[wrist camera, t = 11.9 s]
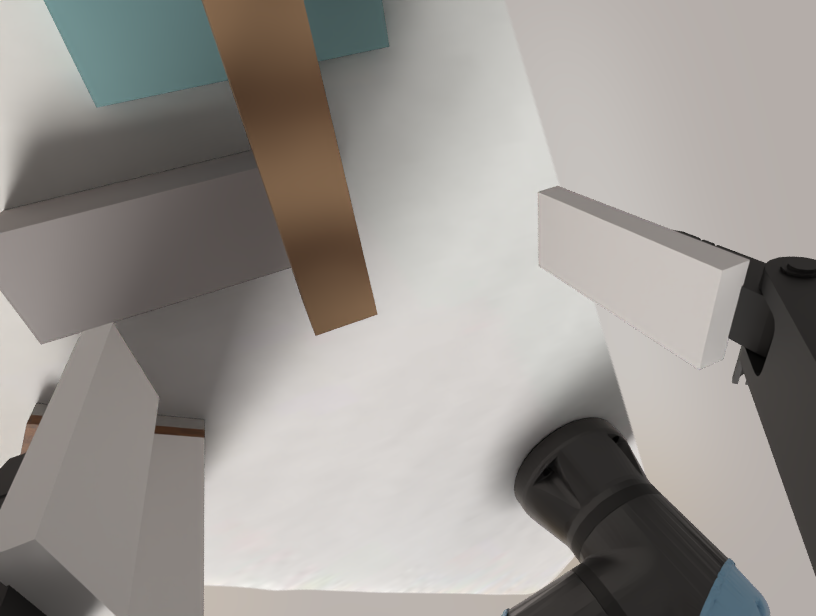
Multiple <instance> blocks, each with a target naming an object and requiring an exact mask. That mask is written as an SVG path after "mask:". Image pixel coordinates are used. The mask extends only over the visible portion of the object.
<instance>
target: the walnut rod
mask: <svg viewBox="0 0 816 616" xmlns="http://www.w3.org/2000/svg"><path fill="white" fill-rule="evenodd" d="M201 1H202V3H203V6H204V9H205V12H206V15H207V18H208V21H209V24H210V27H211V30H212V33H213V36H214V39H215V42H216V45H217V48H218V51H219V54H220V57H221V60H222V63H223V66H224V69H225V72H226V75H227V78H228V81H229V84H230V87H231V90H232V93H233V96H234V99H235V102H236V104H237V107H238V110H239V113H240V116H241V119H242V122H243V125H244V128H245V131H246V134H247V137H248V140H249V143H250V146H251V149H252V152H253V155H254V158H255V161H256V164H257V167H258V170H259V173H260V176H261V179H262V182H263V185H264V188H265V191H266V194H267V197H268V200H269V202H270V205H271V208H272V211H273V214H274V217H275V220H276V223H277V226H278V229H279V232H280V235H281V238H282V241H283V244H284V247H285V250H286V253H287V256H288V259H289V262H290V265H291V268H292V271H293V274H294V277H295V280H296V283H297V286H298V289H299V292H300V295H301V298H302V300H303V303H304V306H305V309H306V312H307V314H308V317H309V320H310V322H311V325H312V328H313V330H314V333H315V336H316V335H319V334H322V333H325V332H328V331H331V330H334V329H337V328H340V327H342V326H345V325H348V324H351V323H354V322H357V321H360V320H363V319H366V318H368V317H371V316H374V315H377V310H376V306H375V302H374V297H373V293H372V289H371V285H370V280H369V276H368V272H367V268H366V264H365V259H364V255H363V251H362V247H361V242H360V238H359V234H358V230H357V225H356V221H355V217H354V213H353V208H352V204H351V200H350V196H349V191H348V187H347V183H346V179H345V174H344V170H343V166H342V162H341V157H340V153H339V149H338V145H337V140H336V136H335V132H334V128H333V123H332V119H331V115H330V111H329V106H328V102H327V98H326V94H325V90H324V85H323V81H322V77H321V73H320V68H319V64H318V60H317V56H316V51H315V47H314V43H313V39H312V34H311V30H310V26H309V22H308V17H307V13H306V9H305V5H304V0H201Z"/></svg>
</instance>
